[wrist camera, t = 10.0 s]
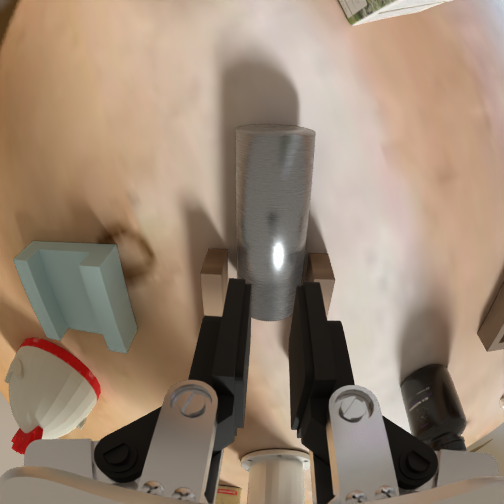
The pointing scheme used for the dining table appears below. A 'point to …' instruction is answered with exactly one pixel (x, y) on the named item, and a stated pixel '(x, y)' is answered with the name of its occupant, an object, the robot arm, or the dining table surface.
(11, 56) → the dining table surface
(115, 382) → the dining table surface
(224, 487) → the jerry can
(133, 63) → the dining table surface
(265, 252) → the grey cylinder
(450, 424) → the supplement bottle
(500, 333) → the valet tray rim
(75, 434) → the dining table surface
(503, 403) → the white creature statuette
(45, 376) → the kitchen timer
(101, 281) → the cradle
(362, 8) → the syrup box
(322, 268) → the wooden blocks
